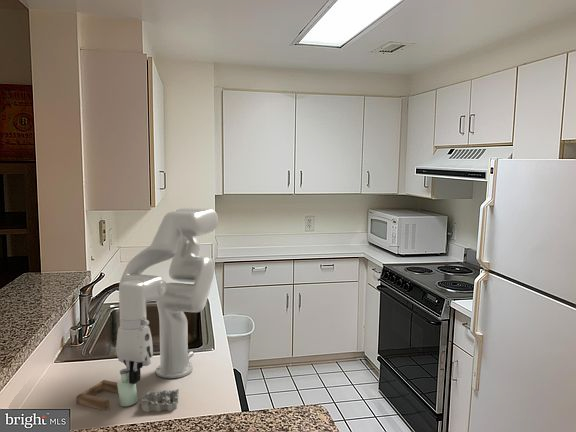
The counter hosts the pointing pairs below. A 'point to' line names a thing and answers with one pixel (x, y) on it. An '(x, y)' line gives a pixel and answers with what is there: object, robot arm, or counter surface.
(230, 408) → the counter surface
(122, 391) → the bottle
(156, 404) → the egg carton
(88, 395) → the rest
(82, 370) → the counter surface
